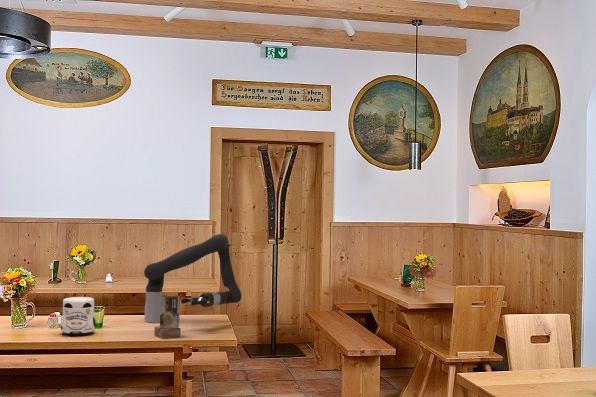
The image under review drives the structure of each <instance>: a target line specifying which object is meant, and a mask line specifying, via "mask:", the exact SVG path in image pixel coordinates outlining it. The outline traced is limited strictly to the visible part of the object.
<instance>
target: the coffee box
mask: <svg viewBox="0 0 596 397" xmlns="http://www.w3.org/2000/svg"><path fill="white" fill-rule="evenodd" d="M180 304H181V295H171V294H168V295H167V294H162V297H161V308H160V322H159V326H160V328H178V327H179V328H180V309H181V305H180Z"/></svg>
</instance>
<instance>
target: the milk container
mask: <svg viewBox="0 0 596 397" xmlns="http://www.w3.org/2000/svg"><path fill="white" fill-rule="evenodd" d="M96 322H97V321H96V318H95V298H93V297H88V296H73V297H71V296H70V297H66V298H63V300H62V317H61V321H60V330H61V332H62V333H63V334H65V335H69V336H83V335H89V334H91V333H93V332H95V329H96V325H97V324H96Z"/></svg>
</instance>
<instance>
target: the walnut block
mask: <svg viewBox="0 0 596 397" xmlns="http://www.w3.org/2000/svg"><path fill="white" fill-rule="evenodd" d="M181 330H182V328H181V327H180V326H179V327H178V328H160V325H158V326H154V328H153V331H154V334H153V335H154V337H157V338H159V339H160V340H168V339H169V338H170V339H177V338H178V339H179V338H181V334H182V333H181Z"/></svg>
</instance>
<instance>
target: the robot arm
mask: <svg viewBox="0 0 596 397" xmlns="http://www.w3.org/2000/svg"><path fill="white" fill-rule="evenodd" d="M214 253H217V254H218V258H219V264H220V267H219V268H220V269H219V270H220V276H221V280H222V284H223V286H224V287H225V288H227V289H228V290H226V291H216V292H215V291H213V292H212V291H211V292H203V293H202V294H200V296H190V297H187V296H186V297H185V298H180V304H190V305H191V306H201V307H203V308H208V307H216V306H220V305H225V304H234V303H240V302H241V300H242V291H241V289H240V287H239V286H238V284H237V281H236V279H235V273H234V269H233V266H232V260H231V255H230V245H229V238H228V237H227V235H226V234H224V233H218V234H215V235H213V236H211V237H210V238H209V239H207V240H205V241H203V242H200V243H198V244H195V245H191V246H188V247H186V248H183V249H182V250H179V251H177V252H175V253H173V254H172V255H170V256H167V257H166V258H165V259H162V260H160V261H157V262H153V263H150V264H148V265H146V267H145V268H144V271H143V273H144V274H143V275H144V277H145V278H146V279H148V281H147V285H146V287H145V304H144V321H145V322H146V323H160V308H161V297H162V296H163V287H164V286H165V285H164V283H165V274H167V273H170V272H172V271H175V270H178V269H182V268H185V267H188V266H190V265H191V264H194V263H196V262H198V261H199V260H201V259H202V258H204V257H206V256H208V255H210V254H214Z"/></svg>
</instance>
